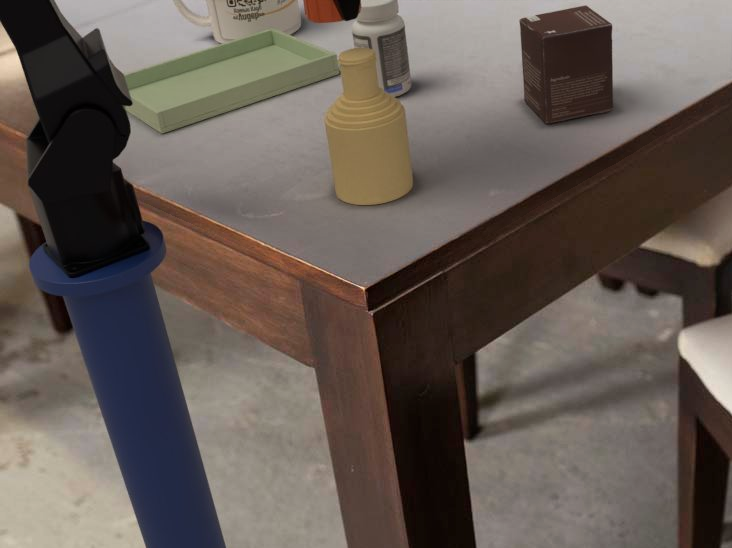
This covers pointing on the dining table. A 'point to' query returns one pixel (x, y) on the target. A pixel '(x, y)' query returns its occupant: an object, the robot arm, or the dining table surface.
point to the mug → (245, 17)
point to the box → (567, 63)
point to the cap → (322, 11)
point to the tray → (225, 78)
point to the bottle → (367, 135)
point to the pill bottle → (384, 43)
